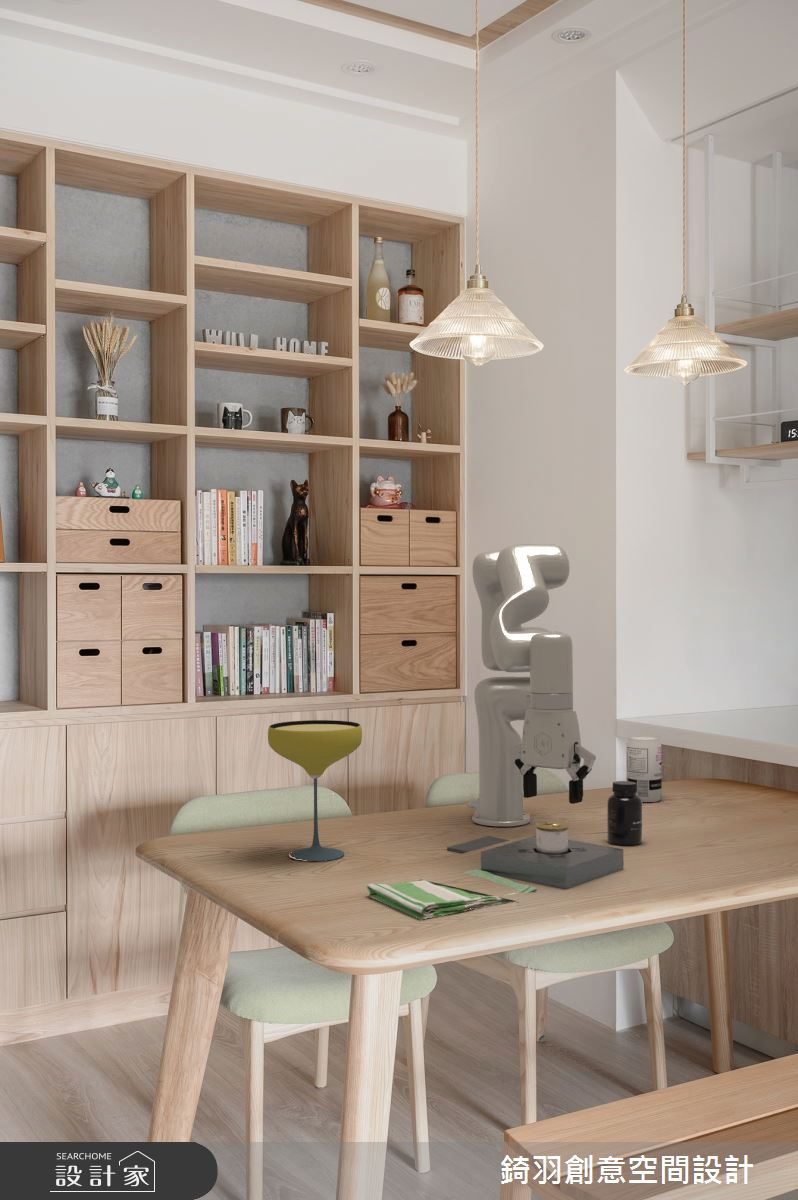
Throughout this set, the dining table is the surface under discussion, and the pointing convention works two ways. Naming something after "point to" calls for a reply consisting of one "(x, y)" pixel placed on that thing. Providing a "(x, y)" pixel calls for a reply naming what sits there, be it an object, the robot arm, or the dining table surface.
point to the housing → (552, 863)
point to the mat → (475, 844)
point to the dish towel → (440, 896)
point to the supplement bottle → (624, 815)
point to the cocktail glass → (315, 761)
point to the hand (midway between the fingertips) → (552, 799)
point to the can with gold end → (552, 837)
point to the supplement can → (645, 766)
